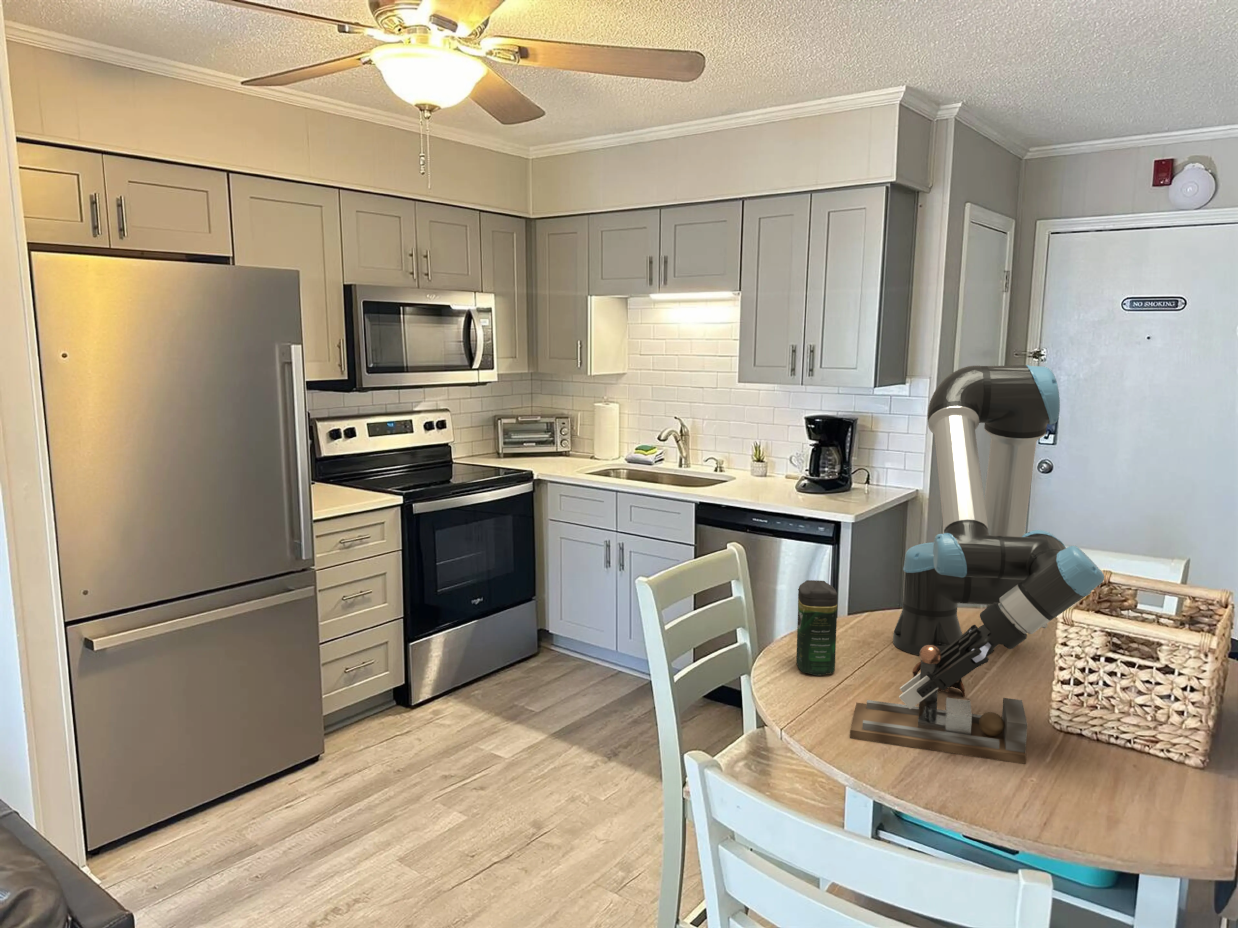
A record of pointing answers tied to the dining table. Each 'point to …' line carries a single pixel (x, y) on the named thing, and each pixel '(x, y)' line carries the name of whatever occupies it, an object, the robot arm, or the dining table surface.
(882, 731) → the press base
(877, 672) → the dining table surface
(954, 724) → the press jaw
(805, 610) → the coffee jar
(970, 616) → the dining table surface
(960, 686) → the brown curved piece
